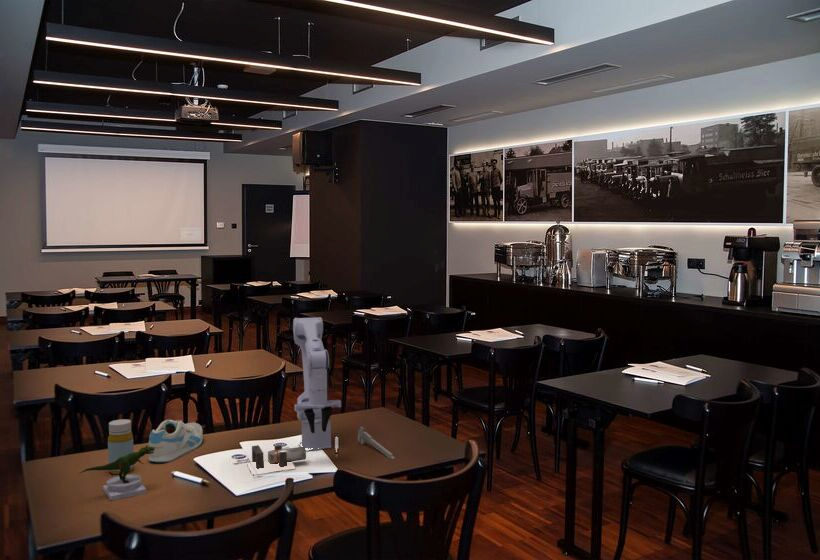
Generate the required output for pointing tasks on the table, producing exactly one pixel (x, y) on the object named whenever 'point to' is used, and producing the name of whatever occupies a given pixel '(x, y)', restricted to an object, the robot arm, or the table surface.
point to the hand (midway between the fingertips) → (318, 431)
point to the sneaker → (174, 440)
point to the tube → (292, 455)
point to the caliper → (372, 442)
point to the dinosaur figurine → (124, 476)
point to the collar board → (258, 456)
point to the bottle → (119, 441)
